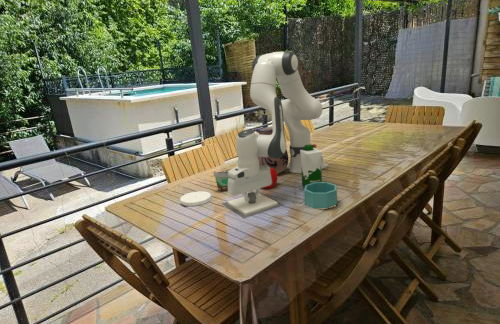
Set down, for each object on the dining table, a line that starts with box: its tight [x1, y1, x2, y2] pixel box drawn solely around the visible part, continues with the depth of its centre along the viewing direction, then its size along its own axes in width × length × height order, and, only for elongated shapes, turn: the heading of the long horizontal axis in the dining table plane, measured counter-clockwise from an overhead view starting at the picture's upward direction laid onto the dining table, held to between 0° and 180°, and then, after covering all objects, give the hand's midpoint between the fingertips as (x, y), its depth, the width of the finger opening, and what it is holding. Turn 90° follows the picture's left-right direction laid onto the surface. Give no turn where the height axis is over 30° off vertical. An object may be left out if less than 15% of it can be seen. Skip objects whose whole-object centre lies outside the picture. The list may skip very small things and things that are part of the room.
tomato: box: [262, 168, 278, 190], centre depth 169 cm, size 11×13×10 cm
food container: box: [213, 169, 231, 193], centre depth 168 cm, size 12×6×10 cm, turn 105°
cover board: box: [226, 191, 279, 215], centre depth 148 cm, size 16×16×5 cm
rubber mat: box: [221, 192, 285, 219], centre depth 149 cm, size 20×20×1 cm
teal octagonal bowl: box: [303, 181, 338, 209], centre depth 144 cm, size 13×13×7 cm
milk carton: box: [300, 144, 323, 188], centre depth 161 cm, size 9×9×20 cm
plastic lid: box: [179, 191, 212, 207], centre depth 159 cm, size 14×14×2 cm
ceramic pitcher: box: [251, 125, 289, 175], centre depth 188 cm, size 18×21×25 cm
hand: (251, 199), depth 148 cm, fingers closed on cover board, 3 cm apart
